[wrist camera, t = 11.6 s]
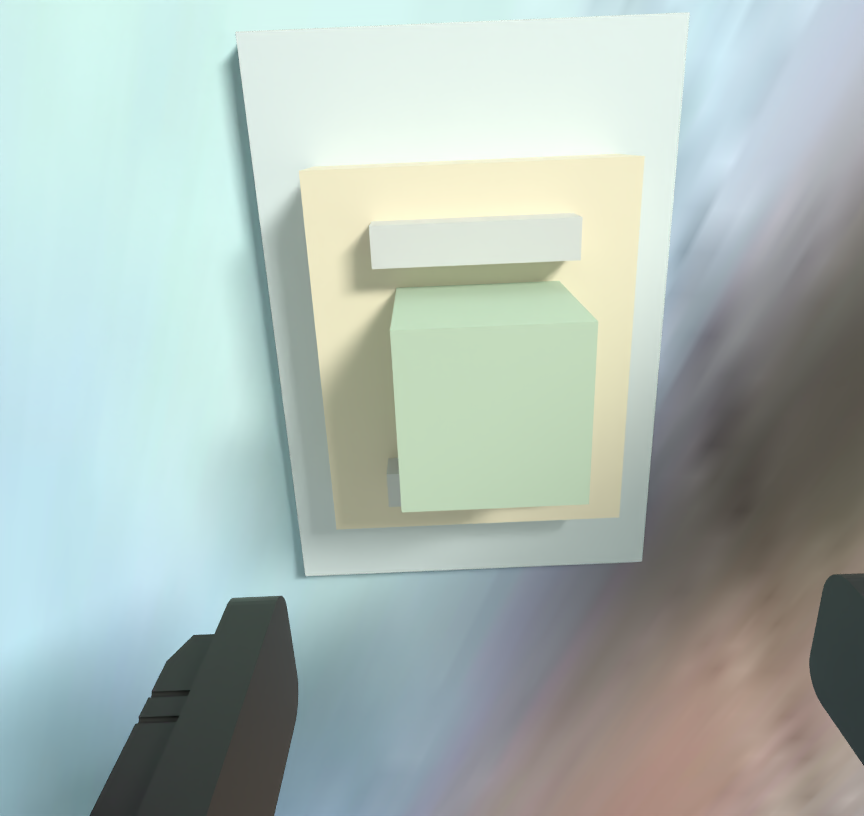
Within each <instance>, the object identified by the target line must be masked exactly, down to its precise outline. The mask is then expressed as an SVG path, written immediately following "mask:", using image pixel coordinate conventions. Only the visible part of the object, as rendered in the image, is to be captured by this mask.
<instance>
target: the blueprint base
mask: <svg viewBox="0 0 864 816" xmlns="http://www.w3.org/2000/svg"><path fill="white" fill-rule="evenodd" d="M689 14H690V12H689V13H665V14H642V15H618V16H595V17H571V18H548V19H524V20H501V21H477V22H454V23H430V24H407V25H383V26H360V27H336V28H312V29H289V30H265V31H242V32H235V33H236V41H237V49H238V56H239V64H240V72H241V80H242V87H243V95H244V103H245V111H246V119H247V126H248V134H249V142H250V150H251V157H252V165H253V173H254V181H255V189H256V196H257V204H258V212H259V220H260V227H261V235H262V243H263V251H264V258H265V266H266V274H267V282H268V290H269V297H270V305H271V313H272V321H273V328H274V336H275V344H276V352H277V360H278V367H279V375H280V383H281V391H282V398H283V406H284V414H285V422H286V429H287V437H288V445H289V453H290V461H291V468H292V476H293V484H294V492H295V499H296V507H297V515H298V523H299V531H300V538H301V546H302V554H303V562H304V569H305V576H321V575H345V574H368V573H391V572H415V571H438V570H461V569H484V568H508V567H531V566H554V565H578V564H601V563H624V562H642V554H643V543H644V531H645V520H646V508H647V497H648V485H649V474H650V462H651V451H652V439H653V428H654V416H655V405H656V393H657V382H658V370H659V359H660V347H661V336H662V324H663V313H664V301H665V290H666V278H667V267H668V255H669V244H670V232H671V221H672V209H673V198H674V186H675V175H676V163H677V152H678V140H679V129H680V117H681V106H682V94H683V83H684V71H685V60H686V48H687V37H688V25H689ZM540 281H560V282H561V283H562V284H563V285H564V286H565V287H566V289H567V290H568V291H569V292H570V293H571V294H572V295H573V296H574V297H575V298H576V299H577V300H578V301H579V302H580V303H581V304H582V305H583V306H584V307H585V308H586V309H587V310H588V311H589V312H590V313H591V314H592V316H593V317H594V318H595V319H596V320H597V321H598V337H597V356H596V376H595V396H594V416H593V435H592V455H591V475H590V494H589V504H585V505H562V506H539V507H516V508H492V509H469V510H446V511H423V512H402V509H401V494H400V478H399V463H398V447H397V432H396V417H395V401H394V386H393V370H392V355H391V339H390V327H391V320H392V314H393V308H394V301H395V295H396V288H401V287H424V286H448V285H471V284H494V283H517V282H540Z"/></svg>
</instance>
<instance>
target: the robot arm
mask: <svg viewBox="0 0 864 816" xmlns="http://www.w3.org/2000/svg"><path fill="white" fill-rule="evenodd" d="M809 666H810V675H811V680H812V684H813V687H814V690H815V692H816V695H817V697H818V699H819V701H820V702H821V704H822V706H823V707H824V709H825V710H826V711H827V713H828V714H829V716H830V717H831V719H832V720H833V722H834V723H835V725H836V726H837V727H838V729H839V730H840V732H841V733H842V735H843V736H844V738H845V739H846V740H847V742H848V743H849V745H850V746H851V748H852V749H853V751H854V752H855V754H856V755H857V756H858V758H859V759H860V761H861V762H862V764H863V765H864V573H862V574H837V575H832V576H830V577H829V578H828V579H827V580H826V582H825V584H824V588H823V592H822V597H821V602H820V608H819V613H818V618H817V623H816V628H815V633H814V638H813V643H812V648H811V653H810V660H809ZM297 706H298V678H297V671H296V664H295V657H294V651H293V644H292V638H291V631H290V625H289V618H288V612H287V606H286V602H285V599H284V598H283V597H282V596H268V597H243V598H232V599H231V600H230V601H229V602H228V604H227V606H226V609H225V611H224V613H223V616H222V618H221V620H220V623H219V625H218V627H217V630H216V632H215V634H208V635H193V636H192V637H191V638H190V639H189V640H188V641H187V642H186V643H185V644H184V645H183V646H182V647H181V648H180V649H179V650H178V651H177V652H176V653H175V654H174V655H173V656H172V657H171V658H170V659H169V660H167V662H166V664H165V666H164V668H163V670H162V672H161V674H160V676H159V678H158V680H157V682H156V684H155V686H154V688H153V690H152V696H151V698H148V700H147V702H146V704H145V706H144V708H143V710H142V712H141V714H140V716H139V722H138V724H135V726H134V728H133V730H132V732H131V734H130V736H129V738H128V740H127V742H126V744H125V746H124V748H123V750H122V752H121V754H120V756H119V758H118V760H117V762H116V764H115V766H114V768H113V770H112V772H111V774H110V776H109V778H108V780H107V782H106V784H105V786H104V788H103V790H102V792H101V794H100V796H99V798H98V800H97V802H96V804H95V806H94V808H93V810H92V812H91V814H90V816H274V814H275V809H276V805H277V801H278V796H279V792H280V787H281V783H282V779H283V774H284V770H285V765H286V761H287V757H288V752H289V748H290V744H291V739H292V735H293V730H294V726H295V721H296V715H297Z"/></svg>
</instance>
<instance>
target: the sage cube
mask: <svg viewBox="0 0 864 816" xmlns="http://www.w3.org/2000/svg"><path fill="white" fill-rule="evenodd" d="M597 337H598V321H597V320H596V319H595V318H594V317H593V316H592V314H591V313H590V312H589V311H588V310H587V309H586V308H585V307H584V306H583V305H582V304H581V303H580V302H579V301H578V300H577V299H576V298H575V297H574V296H573V295H572V294H571V293H570V292H569V291H568V290H567V289H566V287H565V286H564V285H563V284H562V283H561V282H560V281H540V282H517V283H494V284H471V285H448V286H424V287H401V288H396V295H395V301H394V308H393V314H392V320H391V327H390V339H391V355H392V370H393V386H394V401H395V417H396V432H397V447H398V463H399V478H400V494H401V509H402V512H423V511H446V510H469V509H492V508H516V507H539V506H562V505H585V504H589V494H590V475H591V455H592V435H593V416H594V396H595V376H596V356H597Z"/></svg>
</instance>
